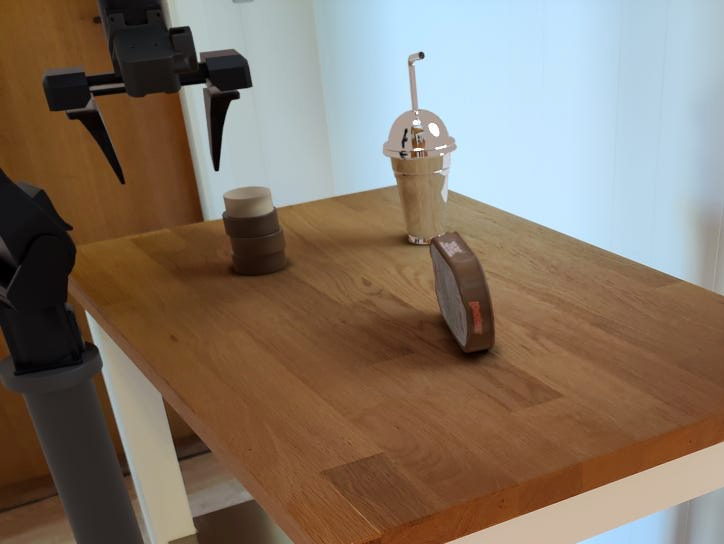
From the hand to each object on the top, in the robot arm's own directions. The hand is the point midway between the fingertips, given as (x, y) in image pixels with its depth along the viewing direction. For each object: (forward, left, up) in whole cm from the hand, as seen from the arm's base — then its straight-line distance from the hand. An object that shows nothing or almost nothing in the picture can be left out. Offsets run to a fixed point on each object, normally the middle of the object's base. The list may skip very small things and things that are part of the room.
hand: (170, 177), depth 99 cm
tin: (+22, -24, -12) cm, 35 cm away
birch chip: (+8, +7, -6) cm, 12 cm away
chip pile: (+8, +7, -12) cm, 16 cm away
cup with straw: (+28, +7, -12) cm, 31 cm away
